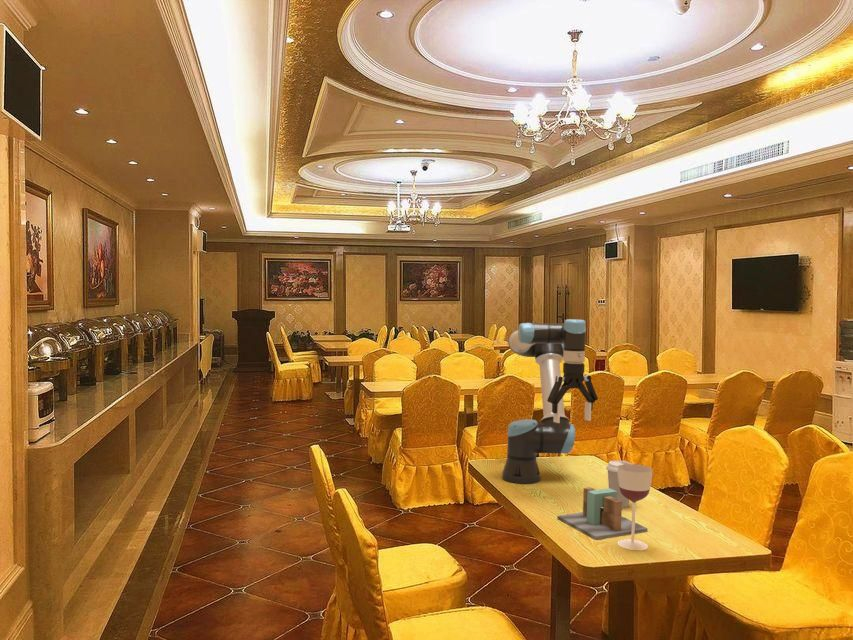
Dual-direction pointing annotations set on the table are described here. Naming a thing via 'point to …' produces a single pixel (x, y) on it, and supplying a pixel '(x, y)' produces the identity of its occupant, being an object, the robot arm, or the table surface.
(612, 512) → the joint base
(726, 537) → the table surface
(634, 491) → the wineglass
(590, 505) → the green arch block
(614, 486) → the coffee cup
